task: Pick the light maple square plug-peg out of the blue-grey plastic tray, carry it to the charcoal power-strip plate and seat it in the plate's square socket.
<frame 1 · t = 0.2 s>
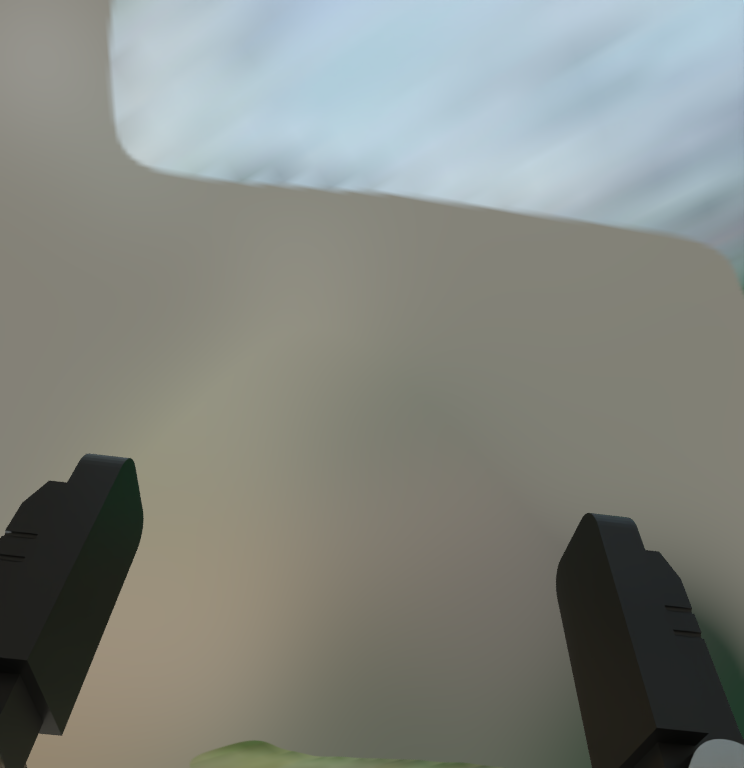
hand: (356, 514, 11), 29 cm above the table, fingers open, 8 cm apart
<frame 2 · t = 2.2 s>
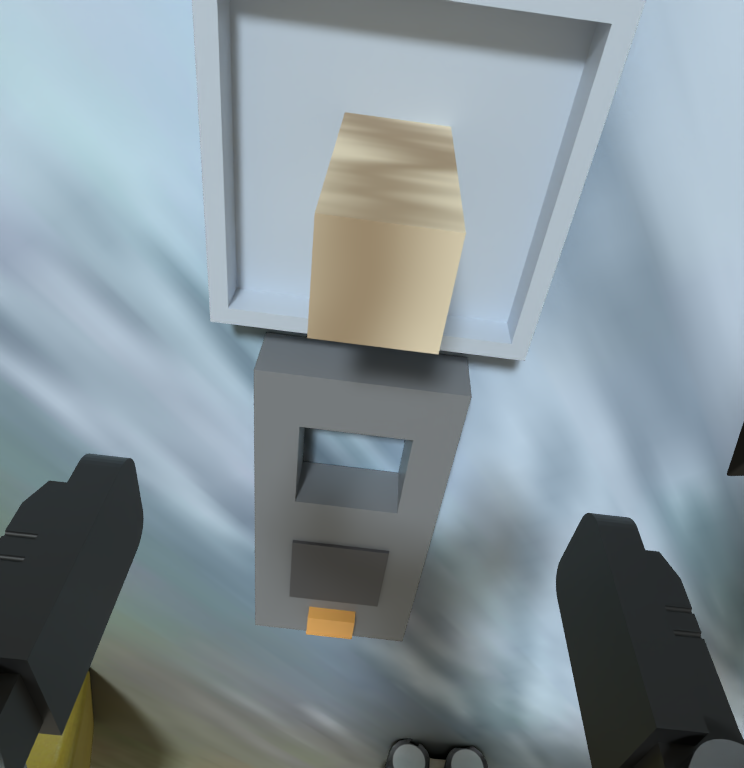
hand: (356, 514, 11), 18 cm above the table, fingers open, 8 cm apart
plug peg: (390, 172, 25), point 1 cm above the table, touching tray
power strip: (347, 492, 38), on the table
flower pot: (20, 680, 57), on the table
toy excavator: (403, 753, 62), on the table
tray: (391, 164, 25), on the table
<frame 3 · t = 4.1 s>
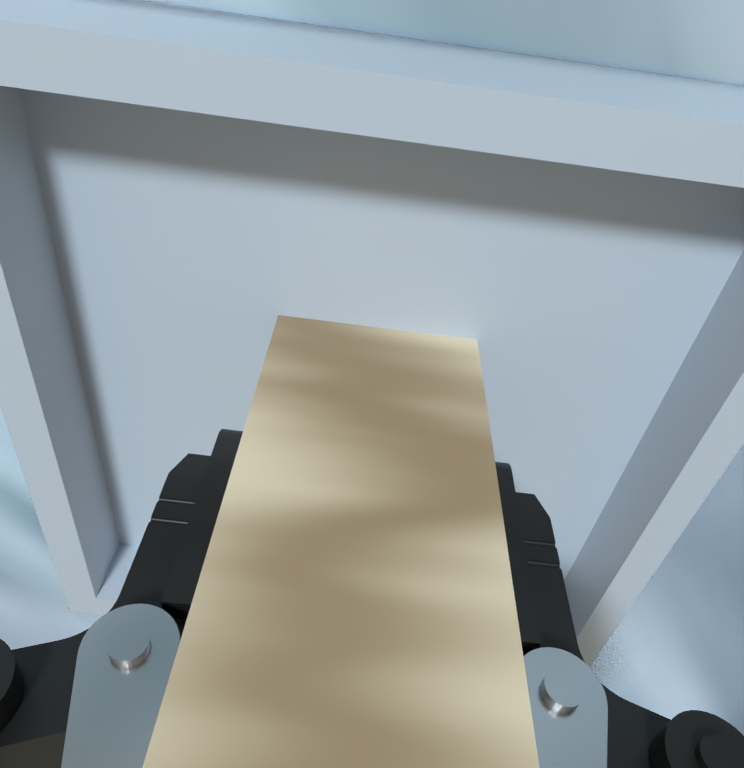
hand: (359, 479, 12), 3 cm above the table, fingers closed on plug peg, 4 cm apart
plug peg: (366, 402, 14), point 1 cm above the table, touching gripper, tray
tray: (368, 379, 14), on the table
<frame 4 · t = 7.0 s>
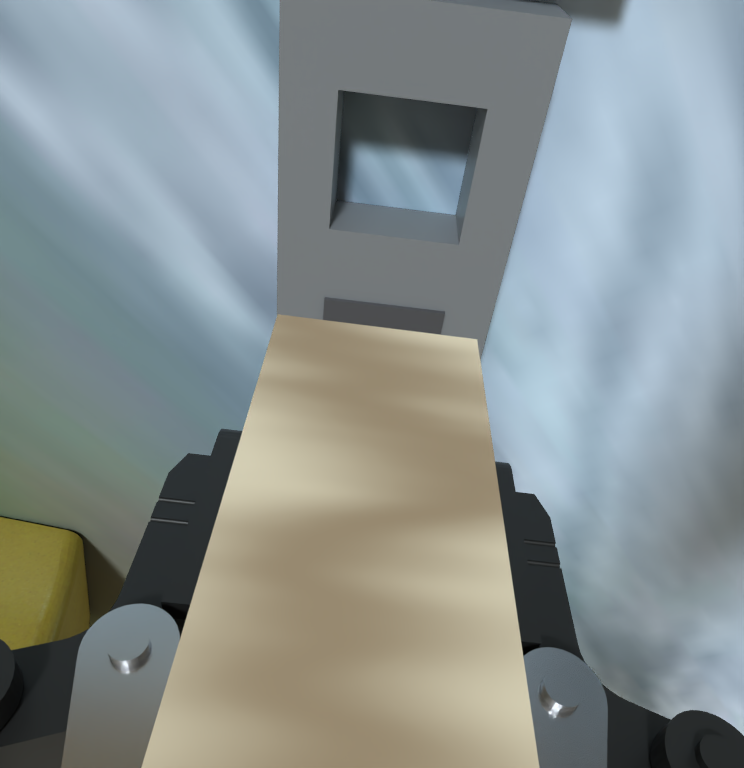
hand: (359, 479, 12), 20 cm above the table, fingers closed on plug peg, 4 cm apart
plug peg: (366, 402, 14), point 17 cm above the table, touching gripper
power strip: (390, 250, 31), on the table
flower pot: (5, 558, 50), on the table
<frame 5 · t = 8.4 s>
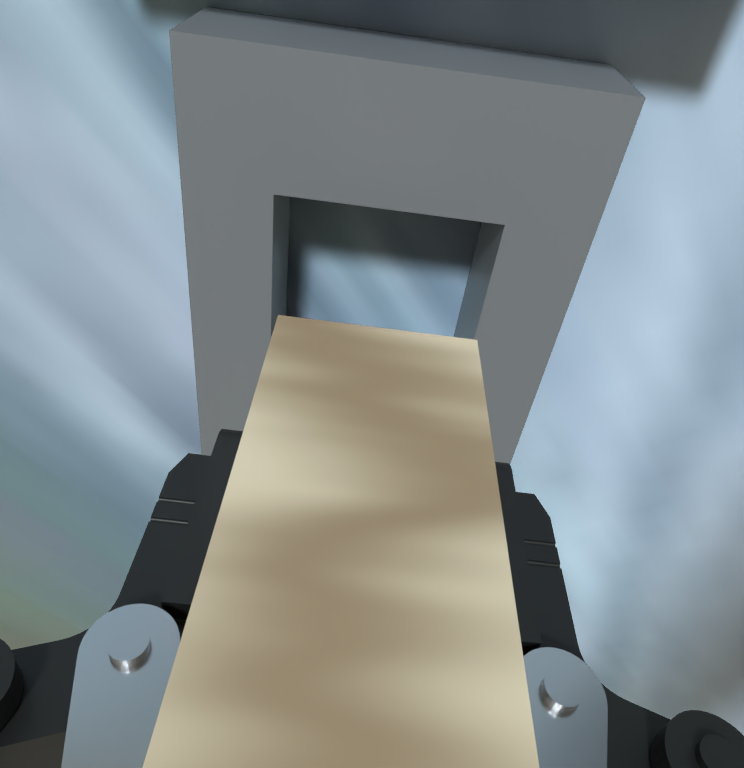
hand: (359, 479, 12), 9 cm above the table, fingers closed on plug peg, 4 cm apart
plug peg: (366, 402, 14), point 7 cm above the table, touching gripper
power strip: (362, 382, 22), on the table
when the fingers open (4 cm above the table, at t = 9.8 s): plug peg drops 2 cm, resting in power strip.
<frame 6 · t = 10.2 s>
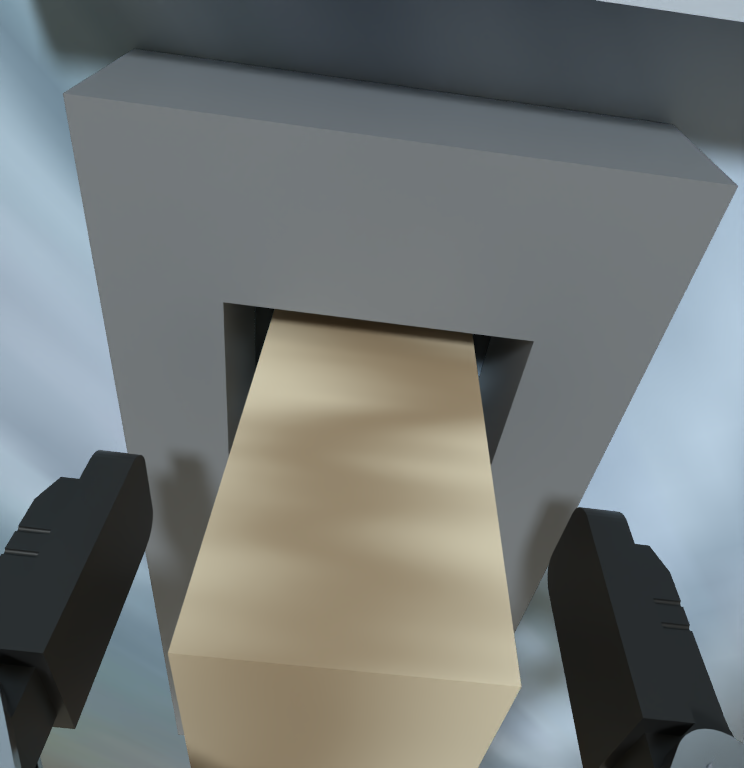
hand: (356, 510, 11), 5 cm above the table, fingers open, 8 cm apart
plug peg: (368, 347, 15), resting in power strip
power strip: (350, 486, 18), on the table
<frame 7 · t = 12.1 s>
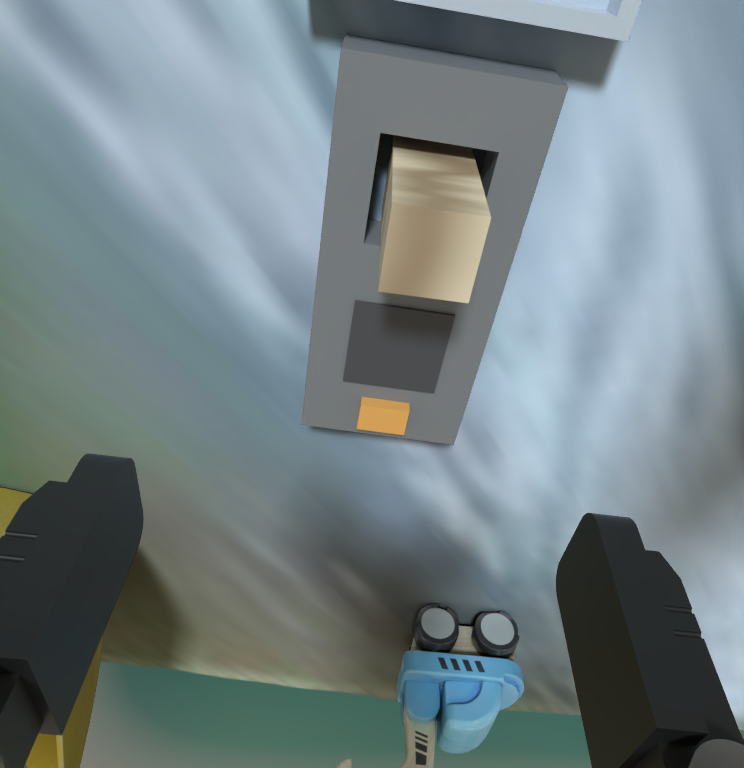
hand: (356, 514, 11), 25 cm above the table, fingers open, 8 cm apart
plug peg: (425, 176, 33), resting in power strip
power strip: (408, 262, 36), on the table
flower pot: (32, 535, 54), on the table
toy excavator: (428, 624, 61), on the table
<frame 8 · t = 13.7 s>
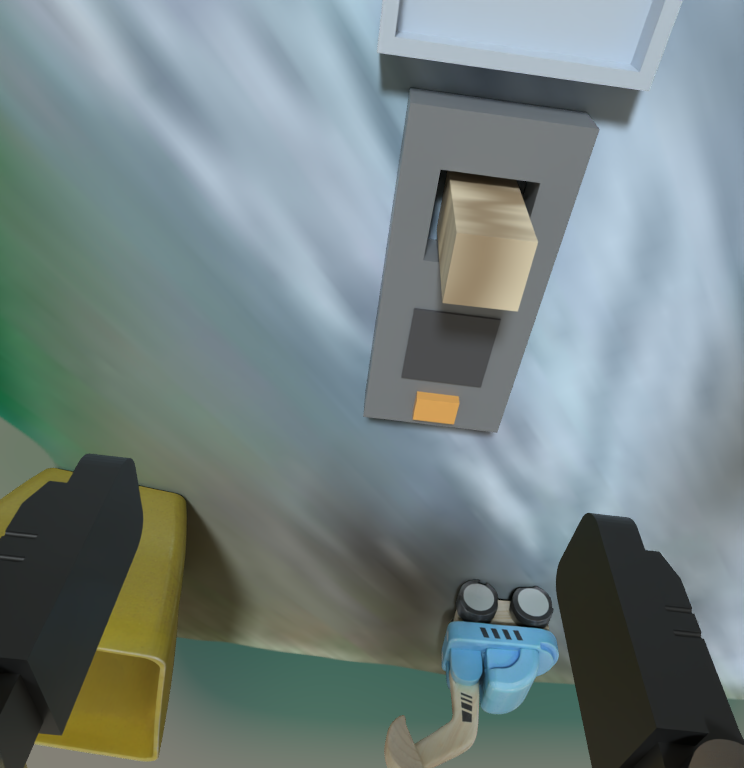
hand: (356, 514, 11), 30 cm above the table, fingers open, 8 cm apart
plug peg: (474, 201, 39), resting in power strip
power strip: (458, 273, 42), on the table
flower pot: (115, 519, 61), on the table
toy excavator: (468, 599, 66), on the table
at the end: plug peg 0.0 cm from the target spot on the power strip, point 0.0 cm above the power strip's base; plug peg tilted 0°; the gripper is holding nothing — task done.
